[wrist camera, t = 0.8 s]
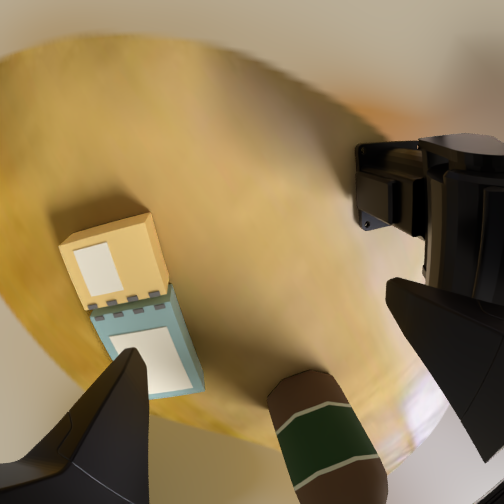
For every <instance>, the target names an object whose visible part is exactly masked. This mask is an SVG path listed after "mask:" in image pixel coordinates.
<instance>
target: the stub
mask: <svg viewBox="0 0 504 504" xmlns="http://www.w3.org/2000/svg"><path fill="white" fill-rule="evenodd" d="M58 247H59V249H60V252H61V255H62V257H63V260H64V263H65V265H66V268H67V270H68V273H69V275H70V278H71V280H72V282H73V285H74V287H75V289H76V292H77V294H78V296H79V298H80V301H81V303H82V305H83V307H84V309H85V311H86V310H92V309H97V308H101V307H106V306H112V305H117V304H121V303H126V302H132V301H137V300H141V299H146V298H152V297H156V296H160V295H165V294H167V289H168V282H169V274H168V271H167V267H166V264H165V261H164V257H163V254H162V251H161V247H160V244H159V240H158V237H157V233H156V229H155V226H154V222H153V218H152V214H151V212H149V213H145V214H141V215H137V216H133V217H129V218H125V219H122V220H118V221H114V222H111V223H107V224H103V225H100V226H96V227H93V228H89V229H86V230H83V231H79V232H76V233H72V234H71V235H70V236H69V237H68V238H67V239H66V240H65V241H63V242H62V243H61V244H60V245H59V246H58Z"/></svg>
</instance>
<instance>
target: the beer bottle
mask: <svg viewBox="0 0 504 504" xmlns="http://www.w3.org/2000/svg"><path fill="white" fill-rule="evenodd" d="M267 403H268V408H269V412H270V415H271V419H272V422H273V425H274V428H275V432H276V435H277V438H278V441H279V444H280V447H281V450H282V454H283V457H284V460H285V463H286V466H287V469H288V472H289V475H290V478H291V481H292V484H293V487H294V490H295V493H296V494H297V497H298V499H299V502H300V504H386V500H387V495H388V482H387V474H386V471H385V469H384V467H383V464H382V462H381V460H380V457H379V456H378V454H377V452H376V450H375V448H374V447H373V445H372V443H371V441H370V439H369V438H368V436H367V434H366V432H365V430H364V429H363V427H362V425H361V423H360V421H359V420H358V418H357V416H356V414H355V413H354V411H353V409H352V407H351V405H350V404H349V402H348V400H347V398H346V397H345V395H344V393H343V391H342V389H341V388H340V386H339V385H338V383H337V382H336V380H335V379H334V377H333V376H332V375H330V374H325V373H321V372H317V371H313V370H308V371H305V372H302V373H300V374H297V375H294V376H291V377H289V378H286V379H283V380H282V381H281V382H280V383H279V384H278V386H277V387H276V388H275V389H274V390H273V391H272V393H271V394H270V395H269V396H268V398H267Z"/></svg>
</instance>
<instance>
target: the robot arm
mask: <svg viewBox="0 0 504 504" xmlns="http://www.w3.org/2000/svg"><path fill="white" fill-rule="evenodd" d="M418 140H419V141H391V142H374V143H360V144H358V145H357V146H356V147H355V156H356V169H357V173H356V191H357V207H358V208H359V225H360V227H361V229H363V230H365V231H369V230H373V229H378V228H382V227H386V226H391V225H392V226H394V227H396V228H398V229H400V230H402V231H403V232H405V233H407V234H409V235H411V236H412V237H418V238H420V239H421V240H423V241H425V259H424V265H423V270H422V274H423V276H424V277H425V279H426V282H425V285H424V284H421V283H417V282H413V281H410V280H406V279H402V278H399V277H396V278H393V279H390V280H388V281H387V283H386V298H385V299H386V304H387V306H388V308H389V310H390V312H391V313H392V315H393V317H394V318H395V320H396V322H397V324H398V325H399V327H400V329H401V331H402V332H403V334H404V336H405V337H406V339H407V340H408V342H409V343H410V344H411V346H412V347H413V349H414V350H415V352H416V353H417V354H418V356H419V357H420V359H421V360H422V362H423V363H424V365H425V366H426V368H427V369H428V371H429V372H430V373H431V375H432V376H433V378H434V379H435V381H436V383H437V384H438V386H439V387H440V389H441V390H442V392H443V393H444V395H445V396H446V398H447V400H448V401H449V403H450V404H451V406H452V408H453V409H454V411H455V412H456V414H457V416H458V417H459V419H460V420H461V423H462V424H463V426H464V428H465V429H466V431H467V433H468V434H469V436H470V438H471V440H472V441H473V443H474V445H475V446H476V448H477V450H478V452H479V454H480V456H481V458H482V459H483V461H484V462H485V463H487V462H488V461H489V460H491V459H492V458H493V457H494V456H495V455H496V454H497V453H499V452H500V451H501V450H502V449H503V448H504V143H503V142H501V141H500V140H498V139H497V138H495V137H493V136H487V135H479V134H469V133H461V134H451V135H442V136H434V137H426V138H419V139H418ZM417 145H418V149H417ZM361 148H363V149H364V152H363V153H361ZM366 222H368V223H367V225H366V226H365V223H366ZM148 427H149V394H148V376H147V366H146V364H145V362H144V360H143V358H142V356H141V355H140V353H139V351H138V350H137V348H135V347H131V348H125V349H124V350H123V351H122V352H121V353H120V354H119V355H118V356H117V357H116V358H115V360H114V361H113V362H112V363H111V364H110V365H109V366H108V367H107V368H106V370H105V371H104V372H103V373H102V374H101V375H100V376H99V377H98V378H97V379H96V381H95V382H94V383H93V384H92V385H91V386H90V387H89V388H88V390H87V391H86V392H85V393H84V394H83V395H82V396H81V398H80V399H79V400H78V401H77V402H76V403H75V404H74V405H73V407H72V408H71V409H70V410H69V412H67V413H66V415H65V416H64V417H63V418H62V419H61V420H60V421H59V423H58V424H57V425H56V426H55V427H54V428H53V429H52V430H51V431H50V432H49V433H48V434H47V435H46V436H45V437H44V438H43V439H42V440H41V441H40V442H39V443H38V444H37V445H36V446H35V447H34V448H33V449H32V450H31V451H30V452H29V453H28V454H27V455H26V456H24V457H23V458H21V459H20V460H18V461H15V462H11V463H3V464H0V504H149V486H148V485H149V484H148V483H149V481H148V430H149V428H148ZM473 504H504V478H503V479H502V480H501V481H500V482H499V483H498V484H496V485H495V486H494V487H493V488H492V489H491V490H490V491H488V492H487V493H486V494H485V495H483V496H482V497H481V498H480V499H478V500H477V501H476V502H475V503H473Z"/></svg>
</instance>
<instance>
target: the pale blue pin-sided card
mask: <svg viewBox="0 0 504 504" xmlns="http://www.w3.org/2000/svg"><path fill="white" fill-rule="evenodd" d="M90 319H91V321H92V323H93V325H94V327H95V329H96V331H97V333H98V335H99V337H100V339H101V340H102V342H103V344H104V346H105V348H106V350H107V351H108V353H109V355H110V357H111V358H112V360H113V361H114V360H115V358H116V357H117V356H118V355H119V354H120V353H121V352H122V351H123V350H124V349H125V348H131V347H135V348H137V350H138V351H139V353H140V355H141V356H142V358H143V360H144V362H145V364H146V366H147V376H148V394H149V400H150V399H158V398H166V397H173V396H180V395H186V394H192V393H198V392H204V391H205V384H204V373H203V369H202V367H201V364H200V362H199V359H198V356H197V354H196V351H195V348H194V346H193V343H192V340H191V338H190V335H189V332H188V329H187V327H186V324H185V321H184V318H183V315H182V312H181V309H180V306H179V303H178V301H177V297H176V294H175V291H174V288H173V285H172V284H168V289H167V294H165V295H160V296H156V297H152V298H146V299H141V300H137V301H132V302H126V303H121V304H117V305H112V306H106V307H101V308H97V309H93V311H92V313H91V315H90Z"/></svg>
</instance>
